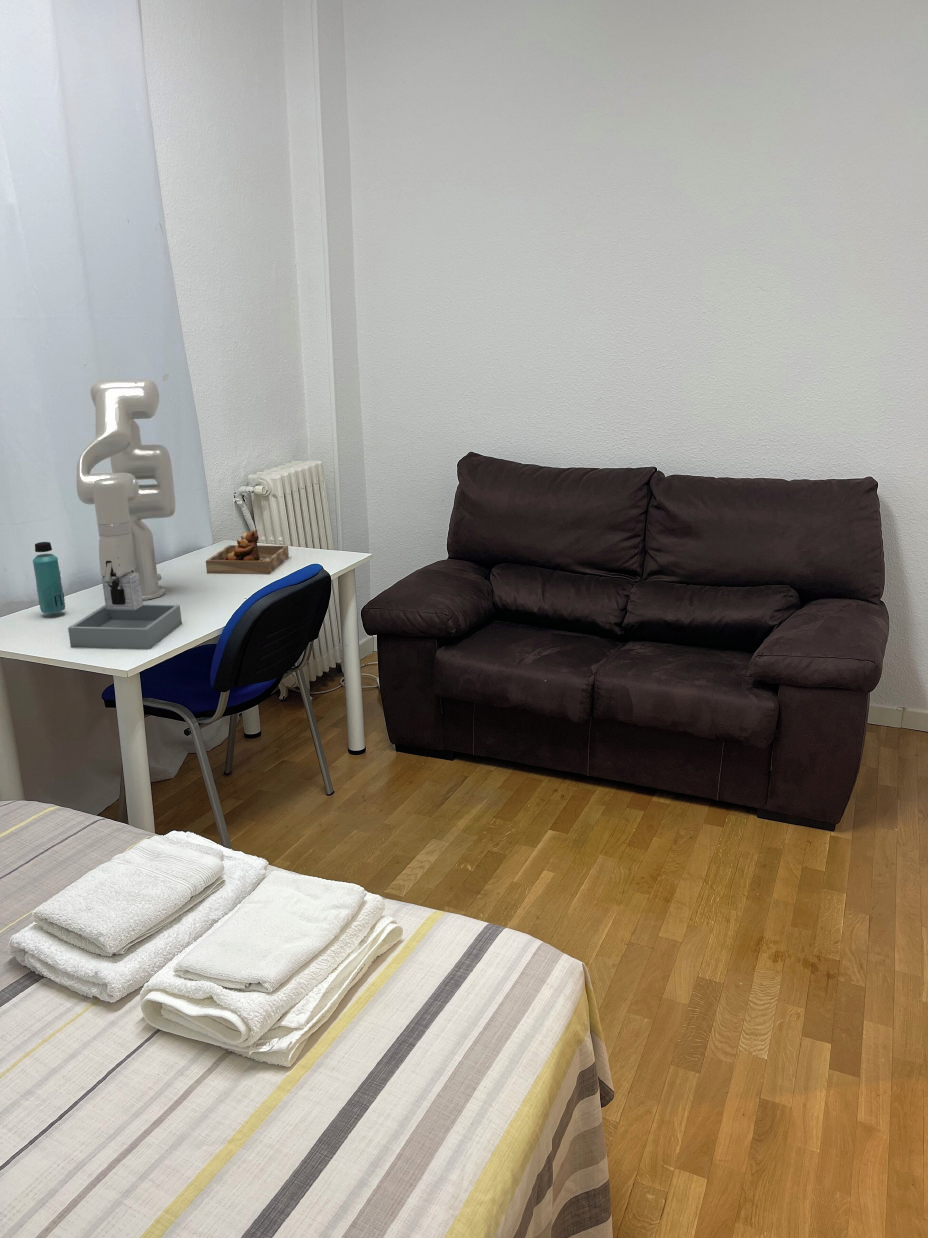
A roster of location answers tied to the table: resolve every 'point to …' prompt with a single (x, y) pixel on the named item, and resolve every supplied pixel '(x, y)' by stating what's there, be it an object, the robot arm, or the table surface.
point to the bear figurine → (246, 549)
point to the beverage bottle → (48, 580)
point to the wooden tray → (248, 567)
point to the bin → (125, 627)
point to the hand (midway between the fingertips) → (123, 600)
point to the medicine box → (125, 593)
